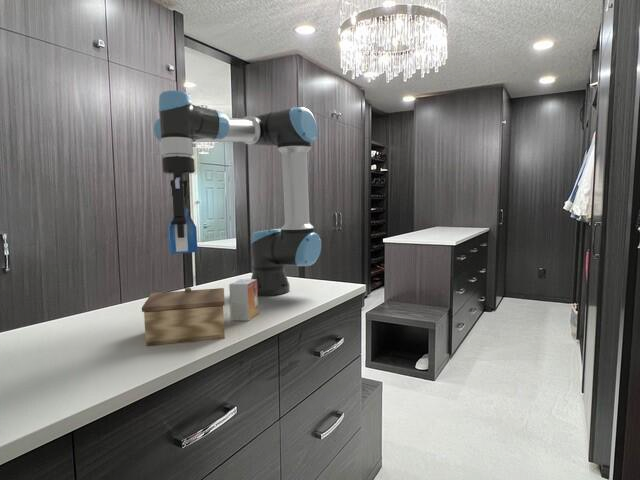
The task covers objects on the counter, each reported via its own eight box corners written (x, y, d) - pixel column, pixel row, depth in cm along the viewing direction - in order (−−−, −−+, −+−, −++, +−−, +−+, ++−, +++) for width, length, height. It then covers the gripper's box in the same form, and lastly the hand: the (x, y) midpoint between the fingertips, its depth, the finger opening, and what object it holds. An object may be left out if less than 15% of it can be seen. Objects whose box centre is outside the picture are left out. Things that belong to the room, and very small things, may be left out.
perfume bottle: (169, 251, 106) (166, 204, 105) (194, 249, 108) (192, 203, 107) (171, 253, 100) (168, 204, 99) (197, 252, 102) (195, 203, 101)
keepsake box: (224, 322, 115) (222, 294, 114) (224, 338, 101) (223, 306, 101) (155, 329, 111) (153, 299, 110) (146, 346, 97) (143, 312, 96)
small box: (249, 321, 116) (247, 284, 115) (230, 320, 117) (228, 283, 116) (259, 313, 123) (257, 278, 122) (241, 313, 125) (239, 278, 124)
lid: (224, 291, 114) (223, 285, 114) (224, 305, 101) (224, 297, 100) (151, 296, 110) (151, 290, 110) (142, 311, 96) (141, 304, 96)
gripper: (191, 151, 93) (196, 253, 95) (196, 161, 112) (200, 245, 114) (156, 151, 92) (162, 254, 94) (167, 161, 111) (172, 246, 113)
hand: (183, 249), depth 104 cm, fingers closed on perfume bottle, 7 cm apart
